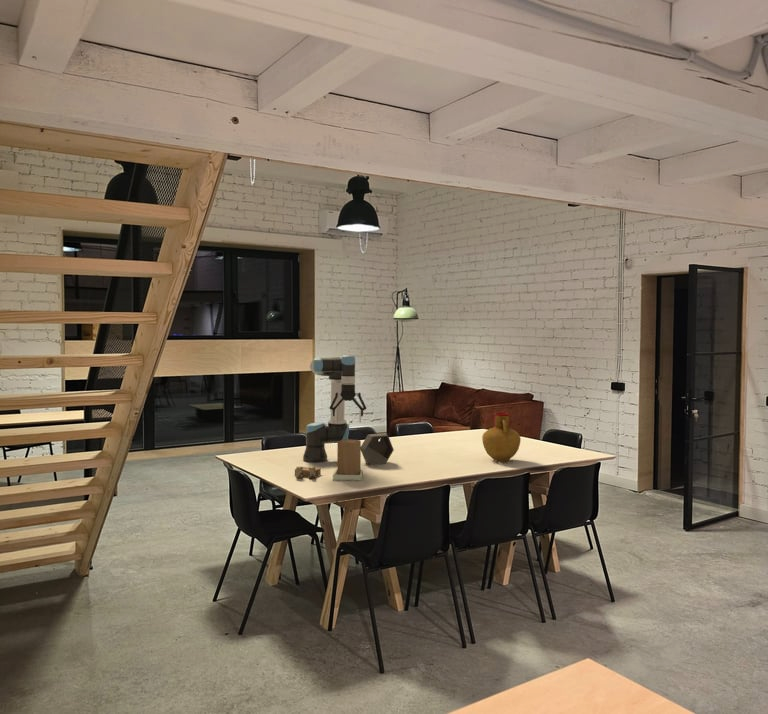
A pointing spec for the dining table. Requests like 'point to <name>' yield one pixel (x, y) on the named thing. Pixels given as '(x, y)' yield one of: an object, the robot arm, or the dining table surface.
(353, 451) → the block
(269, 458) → the dining table surface
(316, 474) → the wooden book-shaped slab
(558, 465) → the dining table surface
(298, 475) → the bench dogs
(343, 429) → the robot arm
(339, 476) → the tray
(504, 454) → the vase
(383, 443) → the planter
